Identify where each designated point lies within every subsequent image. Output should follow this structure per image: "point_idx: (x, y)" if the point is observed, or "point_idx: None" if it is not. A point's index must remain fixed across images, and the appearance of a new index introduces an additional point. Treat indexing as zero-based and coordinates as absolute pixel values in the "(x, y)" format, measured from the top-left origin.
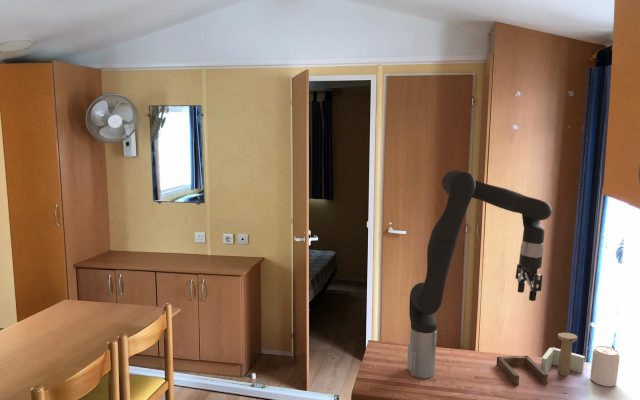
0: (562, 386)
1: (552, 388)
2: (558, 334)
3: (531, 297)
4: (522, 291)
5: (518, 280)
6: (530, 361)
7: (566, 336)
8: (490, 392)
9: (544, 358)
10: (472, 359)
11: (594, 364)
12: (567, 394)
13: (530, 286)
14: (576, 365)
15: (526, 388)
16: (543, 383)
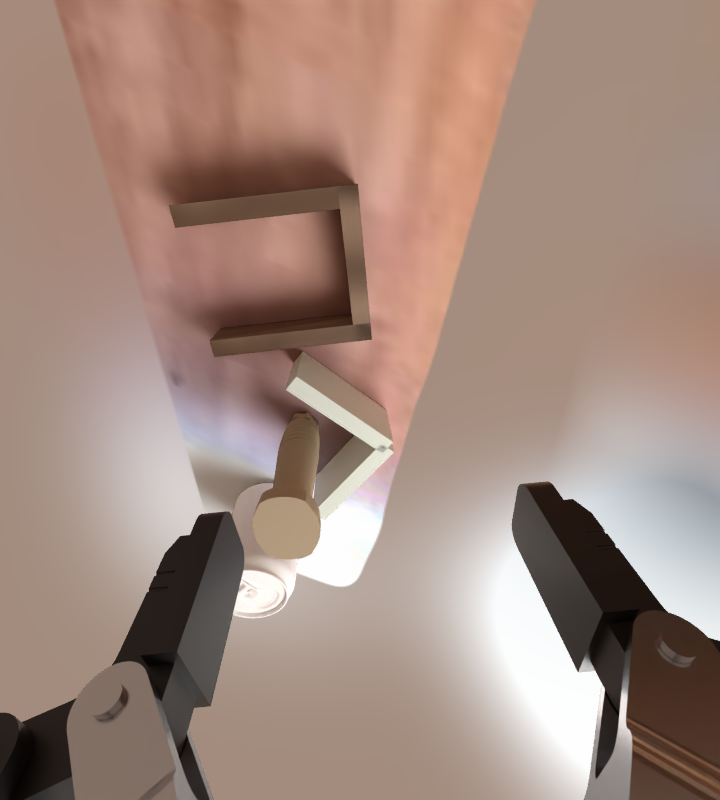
0: (218, 387)
1: (196, 349)
2: (295, 500)
3: (177, 561)
4: (518, 530)
5: (670, 653)
6: (320, 332)
7: (275, 522)
8: (84, 41)
9: (292, 385)
10: (416, 63)
11: (250, 523)
12: (166, 381)
13: (114, 763)
14: (325, 477)
15: (171, 249)
16: (220, 330)
